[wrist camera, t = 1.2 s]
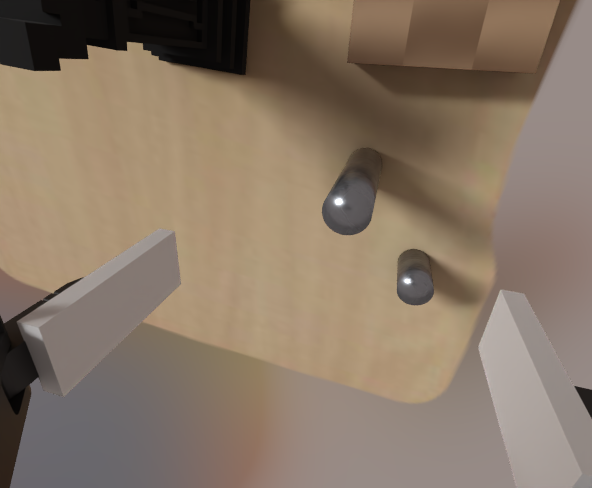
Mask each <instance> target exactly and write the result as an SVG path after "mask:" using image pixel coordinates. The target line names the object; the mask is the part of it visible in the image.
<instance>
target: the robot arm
mask: <svg viewBox="0 0 592 488" xmlns="http://www.w3.org/2000/svg"><path fill="white" fill-rule="evenodd" d="M180 284H181V281H180V272H179V263H178V255H177V246H176V237H175V231H170V230H165V229H158V230H156V231H155V232H153V233H152V234H150V235H149V236H147V237H146V238H144V239H143V240H141V241H139V242H138V243H136V244H135V245H133V246H132V247H130V248H129V249H127V250H126V251H124V252H123V253H121V254H120V255H118V256H116V257H115V258H113V259H112V260H110V261H109V262H107V263H106V264H104V265H103V266H101V267H100V268H98V269H97V270H95V271H93V272H92V273H90V274H89V275H87V276H86V277H82V278H80V279H77V280H75V281H72V282H70V283H67V284H65V285H64V286H62V287H61V288H59V289H58V290H56V291H54V294H52V293H51V294H50V295H48V296H47V297H45V298H44V299H43V301H42V300H41V301H39V302H37V303H36V304H34V305H33V306H31V307H29V308H28V309H26V310H25V311H23V312H22V313H20V314H18V315H17V316H15V317H14V318H12V319H11V320H9V321H7V322H6V323H3V321H2V319H1V316H0V488H10V484H11V479H12V475H13V471H14V466H15V462H16V457H17V454H18V449H19V445H20V440H21V436H22V432H23V427H24V423H25V419H26V415H27V410H28V406H29V401H30V397H31V388H30V385H29V384H30V383H32V382H33V381H34V380H35V379H36V378H38V377H39V380H40V382H41V385H42V387H43V390H44V391H47V392H50V393H53V394H56V395H59V396H63V397H64V396H65V395H66V394H67V393H68V392H69V391H70V390H71V389H72V388H73V387H75V386H76V385H77V384H78V383H79V382H80V381H81V380H82V379H83V378H84V377H85V376H86V375H87V374H88V373H89V372H90V371H91V370H92V369H93V368H94V367H95V366H96V365H97V364H98V363H99V362H100V361H101V360H103V359H104V357H106V356H107V355H108V354H109V353H110V352H111V351H112V350H113V349H114V348H115V347H116V346H117V345H118V344H119V343H120V342H121V341H122V340H123V339H124V338H125V337H126V336H127V335H128V334H129V333H130V332H132V331H133V330H134V328H135V327H137V326H138V325H139V324H140V323H141V322H142V321H143V320H144V319H145V318H146V317H147V316H148V315H149V314H150V313H151V312H152V311H153V310H154V309H155V308H156V307H157V306H159V305H160V304H161V303H162V302H163V301H164V300H165V299H166V298H167V297H168V296H169V295H170V294H171V293H172V292H173V291H174V290H175V289H176V288H177V287H178V286H179V285H180ZM478 348H479V352H480V356H481V359H482V363H483V367H484V371H485V374H486V378H487V382H488V385H489V389H490V393H491V396H492V400H493V404H494V408H495V411H496V415H497V418H498V422H499V426H500V430H501V433H502V437H503V440H504V444H505V448H506V452H507V455H508V459H509V463H510V466H511V470H512V474H513V477H514V481H515V485H516V488H592V390H590V389H585V388H581V387H576V386H574V385H573V383H572V381H571V380H570V378H569V376H568V374H567V372H566V371H565V368H564V367H563V365H562V363H561V361H560V360H559V357H558V356H557V354H556V352H555V350H554V348H553V346H552V344H551V343H550V341H549V339H548V337H547V335H546V333H545V331H544V330H543V328H542V326H541V324H540V322H539V320H538V318H537V317H536V315H535V313H534V311H533V309H532V308H531V306H530V304H529V302H528V300H527V298H526V296H525V294H523V293H517V292H512V291H506V290H500V293H499V295H498V298H497V300H496V303H495V305H494V308H493V311H492V313H491V316H490V318H489V321H488V323H487V326H486V329H485V331H484V334H483V336H482V339H481V341H480V344H479V347H478Z"/></svg>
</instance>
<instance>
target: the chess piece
mask: <svg viewBox="0 0 592 488" xmlns="http://www.w3.org/2000/svg"><path fill="white" fill-rule="evenodd" d="M249 11H250V0H0V64H2V65H7V66H12V67H17V68H22V69H28V70H33V71H61V69H60V63H59V58H62V59H88V51H87V45H91V46H96V47H102V48H108V49H113V50H123V51H127V42H136V43H143V50H148V51H151V54H152V55H154V56H159V60H162V61H168V62H173V63H179V64H184V65H190V66H196V67H201V68H207V69H212V70H218V71H224V72H229V73H235V74H240V75H245V73H246V57H247V42H248V26H249Z"/></svg>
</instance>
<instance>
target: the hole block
mask: <svg viewBox="0 0 592 488" xmlns="http://www.w3.org/2000/svg"><path fill="white" fill-rule="evenodd" d="M559 2H560V0H354V4H353V13H352V23H351V32H350V42H349V51H348V61H347V63H358V64H376V65H394V66H411V67H429V68H447V69H464V70H482V71H500V72H517V73H536V71H537V68H538V65H539V62H540V59H541V56H542V53H543V50H544V47H545V44H546V41H547V38H548V35H549V32H550V29H551V26H552V23H553V20H554V17H555V14H556V11H557V8H558V5H559Z"/></svg>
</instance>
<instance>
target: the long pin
mask: <svg viewBox="0 0 592 488" xmlns="http://www.w3.org/2000/svg"><path fill="white" fill-rule="evenodd" d="M381 169H382V159H381V157H380V155H379V154H378V153H377V152H376V151H375V150H373V149H371V148H361V149H358V150H356V151H355V152H354V153H353V154H352V155H351V156H350V158H349V160H348V162H347V163H346V165H345V167H344V168H343V170H342V172H341V174H340V175H339V177H338V179H337V180H336V182H335V184H334V186H333V187H332V189H331V191H330V192H329V194H328V196H327V198H326V199H325V201H324V203H323V207H322V215H323V219H324V221H325V223H326V224H327V226H328V227H329V228H330V229H332V230H333V231H334V232H336V233H339V234H342V235H354V234H357V233H360V232H361V231H363V230H364V229H365V228H366V227H367V226H368V225H369V223H370V221H371V217H372V213H373V208H374V203H375V198H376V193H377V189H378V184H379V179H380V174H381Z"/></svg>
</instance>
